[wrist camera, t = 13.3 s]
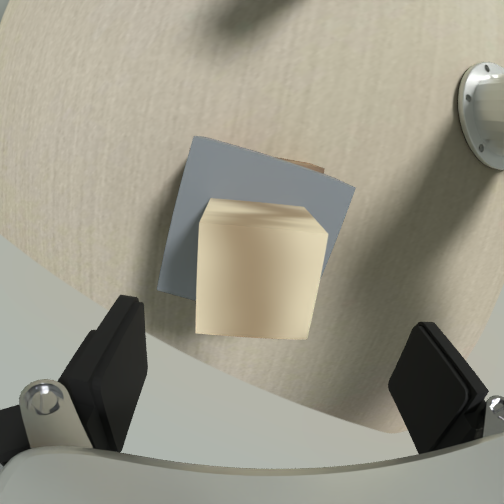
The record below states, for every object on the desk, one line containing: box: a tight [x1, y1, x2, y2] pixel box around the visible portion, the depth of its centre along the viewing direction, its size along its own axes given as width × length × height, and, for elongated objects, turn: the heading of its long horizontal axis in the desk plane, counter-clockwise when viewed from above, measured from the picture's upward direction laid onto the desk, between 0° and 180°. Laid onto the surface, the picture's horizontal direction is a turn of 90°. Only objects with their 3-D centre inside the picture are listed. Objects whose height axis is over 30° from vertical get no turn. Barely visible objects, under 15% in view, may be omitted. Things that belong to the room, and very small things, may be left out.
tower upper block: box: [157, 136, 355, 301], centre depth 22 cm, size 10×10×5 cm
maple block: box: [196, 198, 328, 340], centre depth 17 cm, size 6×6×6 cm
